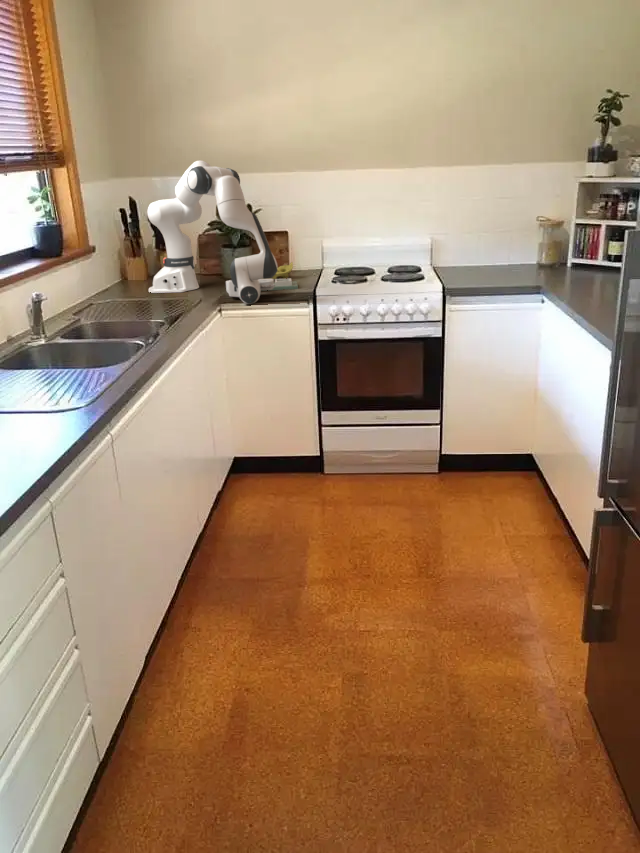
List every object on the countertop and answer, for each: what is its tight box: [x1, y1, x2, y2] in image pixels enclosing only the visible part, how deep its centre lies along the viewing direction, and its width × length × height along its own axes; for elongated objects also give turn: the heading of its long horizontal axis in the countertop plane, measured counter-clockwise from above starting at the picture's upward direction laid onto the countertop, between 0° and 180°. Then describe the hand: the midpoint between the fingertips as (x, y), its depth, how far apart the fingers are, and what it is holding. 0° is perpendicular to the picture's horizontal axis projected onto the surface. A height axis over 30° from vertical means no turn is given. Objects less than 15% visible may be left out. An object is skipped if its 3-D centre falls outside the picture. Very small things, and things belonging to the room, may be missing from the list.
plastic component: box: [263, 261, 294, 281], centre depth 345 cm, size 20×7×10 cm
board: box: [261, 277, 299, 292], centre depth 323 cm, size 16×12×3 cm
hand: (250, 281), depth 311 cm, fingers open, 8 cm apart
